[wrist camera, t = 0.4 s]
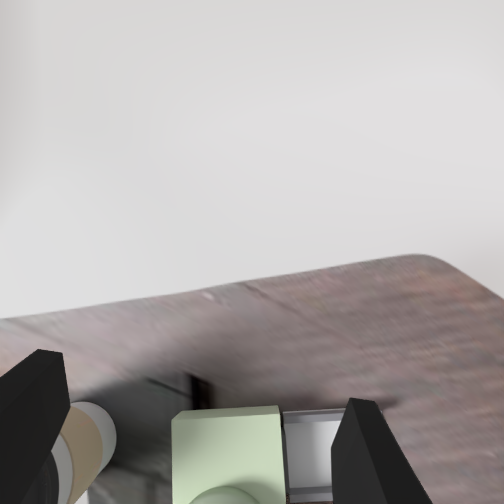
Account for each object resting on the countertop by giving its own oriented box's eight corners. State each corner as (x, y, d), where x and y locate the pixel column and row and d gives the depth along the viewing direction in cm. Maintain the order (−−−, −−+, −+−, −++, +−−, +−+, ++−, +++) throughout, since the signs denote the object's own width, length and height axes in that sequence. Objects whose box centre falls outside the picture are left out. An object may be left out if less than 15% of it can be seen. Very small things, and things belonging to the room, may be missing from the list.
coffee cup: (33, 391, 37) (-116, 429, 23) (128, 385, 37) (39, 419, 22) (28, 496, 35) (-138, 612, 21) (128, 490, 35) (31, 602, 21)
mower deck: (394, 573, 33) (422, 624, 28) (185, 583, 34) (168, 636, 28) (374, 399, 36) (395, 412, 30) (181, 410, 37) (165, 425, 31)
